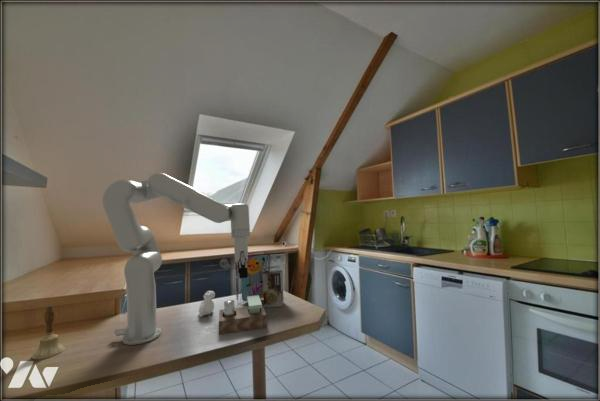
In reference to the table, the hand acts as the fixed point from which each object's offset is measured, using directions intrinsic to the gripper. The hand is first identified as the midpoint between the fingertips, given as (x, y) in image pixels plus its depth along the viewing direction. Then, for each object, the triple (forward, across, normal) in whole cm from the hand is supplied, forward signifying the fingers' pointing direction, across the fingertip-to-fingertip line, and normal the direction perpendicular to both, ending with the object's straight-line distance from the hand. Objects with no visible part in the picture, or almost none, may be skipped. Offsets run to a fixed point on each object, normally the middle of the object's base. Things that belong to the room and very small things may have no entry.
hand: (242, 274), depth 109 cm
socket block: (+20, 0, -1) cm, 20 cm away
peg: (+20, 0, -6) cm, 21 cm away
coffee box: (+21, -18, +15) cm, 31 cm away
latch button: (+17, 0, +4) cm, 17 cm away
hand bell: (+19, 0, -66) cm, 69 cm away
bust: (+20, -18, -16) cm, 31 cm away
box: (+20, -25, +2) cm, 32 cm away
